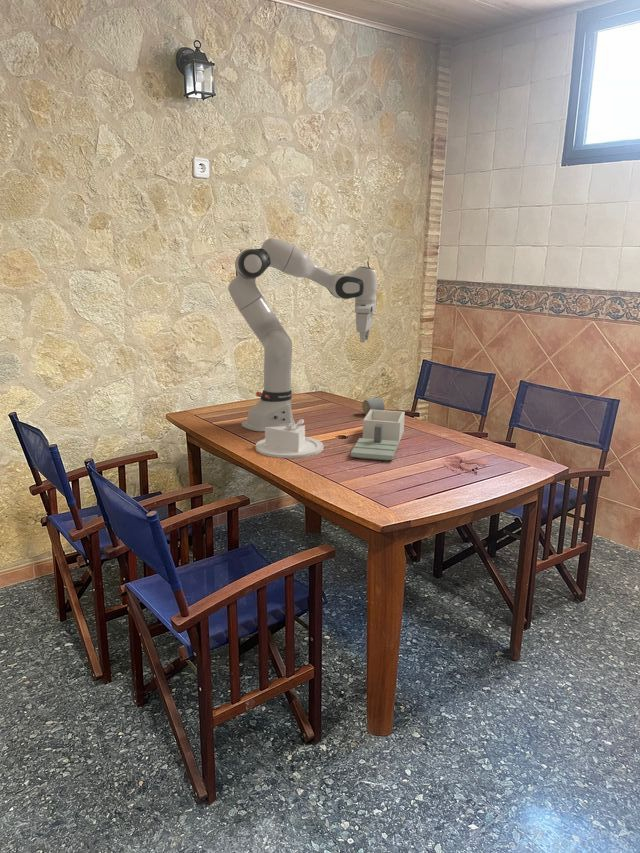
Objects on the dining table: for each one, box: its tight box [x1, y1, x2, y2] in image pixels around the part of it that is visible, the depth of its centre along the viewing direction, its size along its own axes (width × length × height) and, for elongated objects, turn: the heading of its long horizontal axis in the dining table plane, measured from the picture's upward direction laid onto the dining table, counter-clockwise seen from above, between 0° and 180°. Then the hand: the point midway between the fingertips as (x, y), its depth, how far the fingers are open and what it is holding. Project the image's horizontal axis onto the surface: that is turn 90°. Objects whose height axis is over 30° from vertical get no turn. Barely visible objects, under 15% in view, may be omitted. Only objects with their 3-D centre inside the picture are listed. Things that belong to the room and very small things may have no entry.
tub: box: [362, 409, 405, 444], centre depth 248 cm, size 18×14×8 cm
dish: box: [255, 418, 325, 459], centre depth 230 cm, size 25×25×11 cm
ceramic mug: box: [361, 396, 386, 416], centre depth 279 cm, size 11×8×8 cm
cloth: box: [440, 454, 489, 474], centre depth 214 cm, size 20×22×2 cm
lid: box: [350, 424, 400, 461], centre depth 226 cm, size 19×15×9 cm
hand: (364, 340), depth 264 cm, fingers open, 8 cm apart
